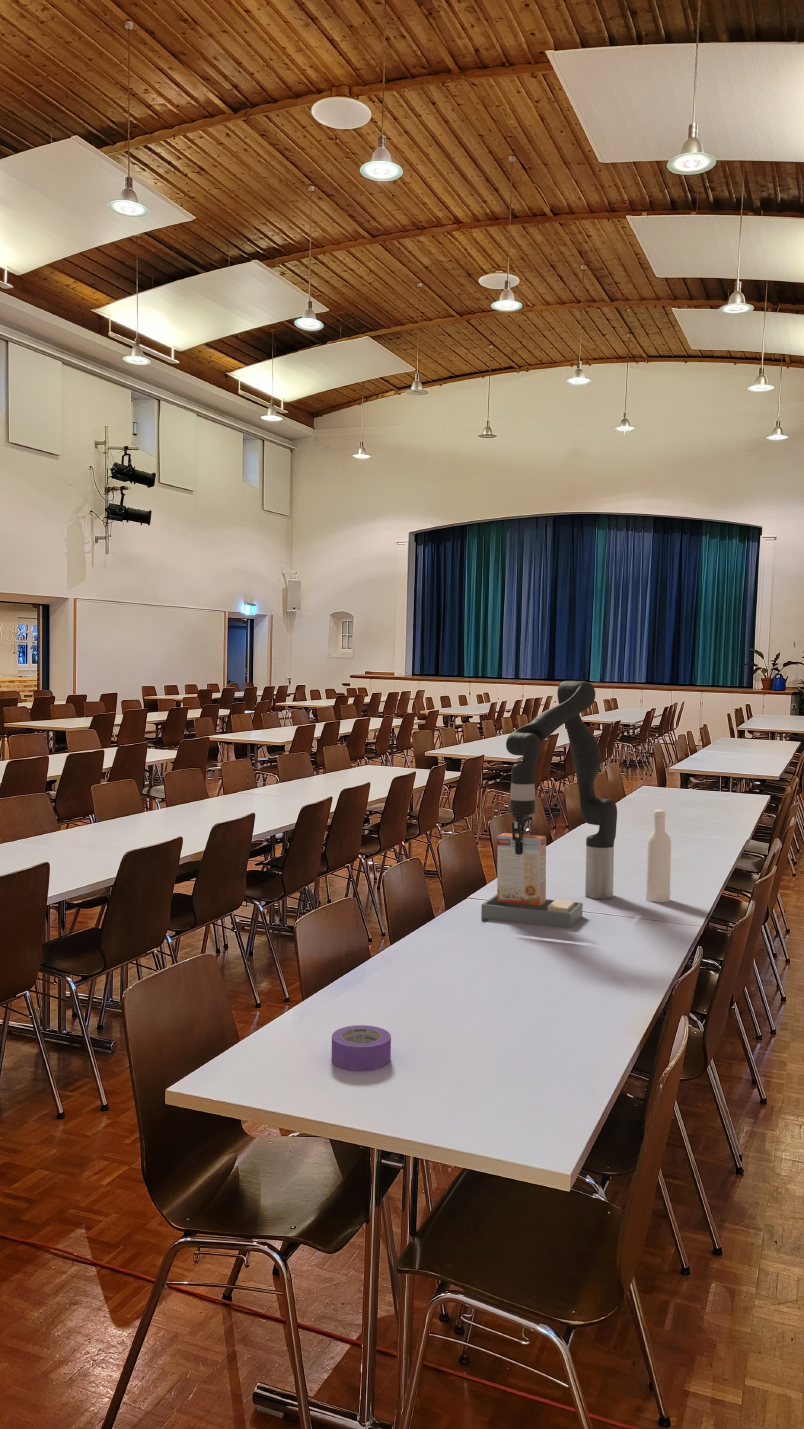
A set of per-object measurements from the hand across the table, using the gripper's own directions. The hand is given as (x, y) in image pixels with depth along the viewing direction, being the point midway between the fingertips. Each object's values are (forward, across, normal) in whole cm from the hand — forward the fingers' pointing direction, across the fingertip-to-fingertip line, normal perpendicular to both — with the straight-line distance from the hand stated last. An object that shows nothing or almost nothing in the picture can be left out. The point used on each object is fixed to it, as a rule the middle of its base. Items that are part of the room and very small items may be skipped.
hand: (522, 852), depth 308 cm
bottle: (+21, +42, -34) cm, 59 cm away
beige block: (+20, 0, -12) cm, 23 cm away
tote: (+21, 0, -3) cm, 21 cm away
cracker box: (+16, 0, 0) cm, 16 cm away
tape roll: (+21, -118, -2) cm, 120 cm away
